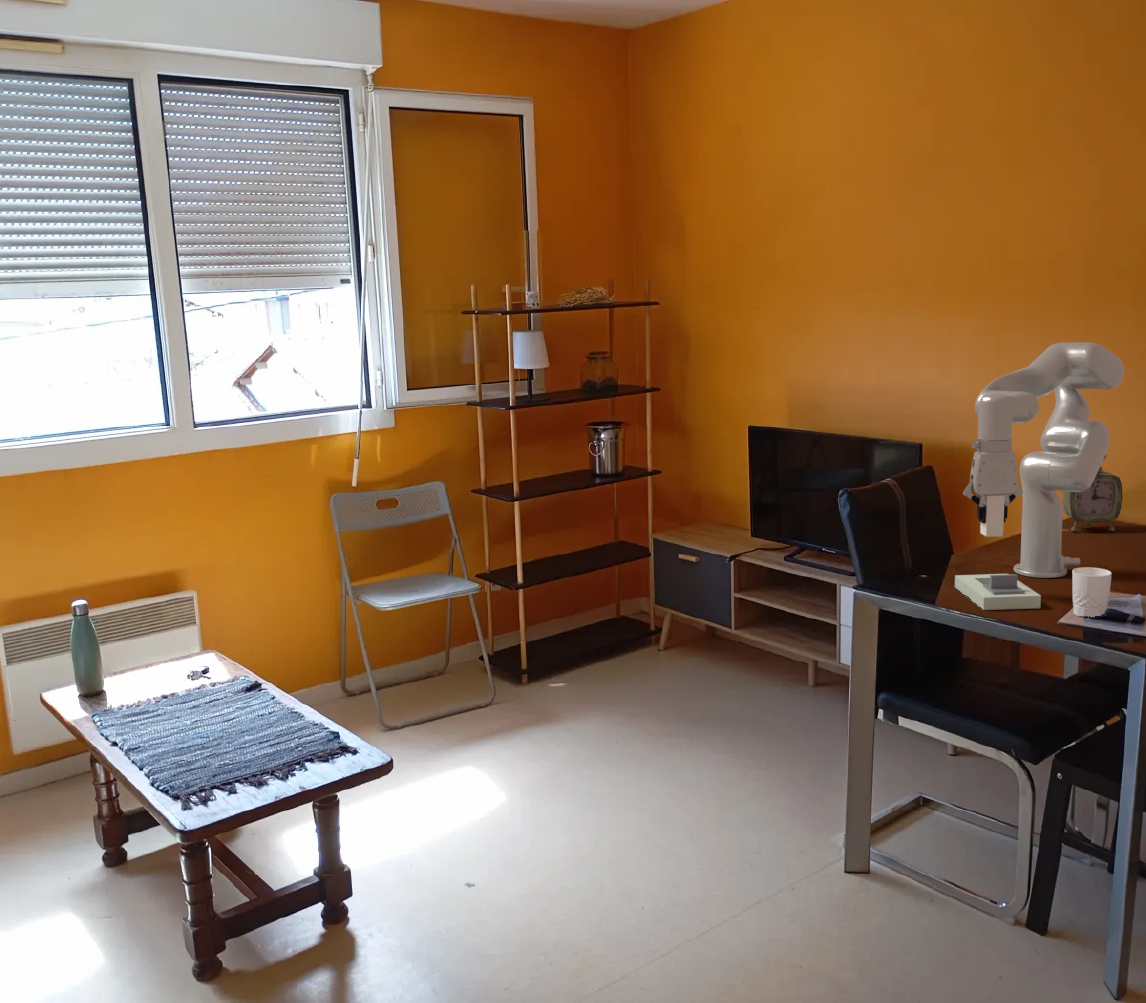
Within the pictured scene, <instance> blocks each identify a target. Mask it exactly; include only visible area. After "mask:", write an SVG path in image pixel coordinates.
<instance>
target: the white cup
mask: <svg viewBox="0 0 1146 1003" xmlns="http://www.w3.org/2000/svg"><path fill="white" fill-rule="evenodd" d="M1071 572H1072V576H1071V577H1072V583H1071V585H1072V587H1071V588H1072V591H1071V592H1072V595H1071V596H1072V606H1073V607H1072V609H1073V610H1072V613H1073V615H1075V616H1076V617H1079V616H1088V617H1089V616H1090V617H1095V616H1101V615H1102V614H1104V613H1105V611H1106V610H1107V611H1108V604H1109V599H1110V593H1111V586H1112V585H1111V584H1112V583H1111V582H1112V574H1113V573H1112V572H1111V570H1108V569H1105V568H1101V567H1100V568H1099V567H1090V566H1089V567H1088V566H1086V567H1076V568H1073V569H1072V571H1071Z"/></svg>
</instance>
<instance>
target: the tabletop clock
mask: <svg viewBox="0 0 1146 1003" xmlns="http://www.w3.org/2000/svg"><path fill="white" fill-rule="evenodd" d="M1106 458H1107V454H1106V455H1105V457H1104V459H1103V461H1104V460H1105V459H1106ZM1122 484H1123V483H1122V481H1121V478H1120V477H1119V476H1118V475H1115V474H1112V473H1111V472H1108V471H1104V470H1103V467H1102V465H1101V466H1100V468H1099V470H1098V472H1097V474H1096V477H1095V479H1094V481H1093V483H1092V485H1091V486H1090V487H1089V488H1088V489H1087V490H1086V491H1084V492H1069V491H1062V492H1063V493H1062V505H1063V511H1064V512H1065V514H1066V516H1068V517H1069V518H1071V519H1073V520H1075V521H1074V524H1073V526H1071V528H1070V531H1071V532H1072V531H1075V532H1076V531H1077V529H1078V528H1077V525H1078V524H1079V522H1082V523H1083V522H1085V523H1086V524H1084V529H1086V528H1089V529H1090V528H1091V527H1092V526H1091V524H1090V523H1101V522H1102V523H1104V522H1105V523H1106V524H1107V526H1108V531H1109V532H1110V531H1113V532H1114V531H1115V530H1116V528H1115V527H1114V526H1112V525H1111V523H1110V522H1112V521H1115V520H1116V519H1118V518H1119V516H1120V513H1121V509H1122V505H1123V504H1122V503H1123V486H1122Z"/></svg>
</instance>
